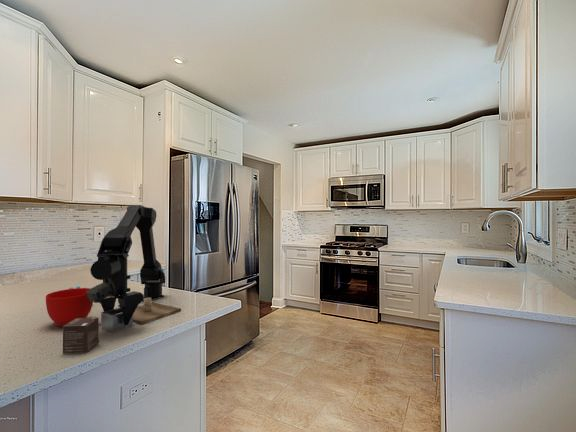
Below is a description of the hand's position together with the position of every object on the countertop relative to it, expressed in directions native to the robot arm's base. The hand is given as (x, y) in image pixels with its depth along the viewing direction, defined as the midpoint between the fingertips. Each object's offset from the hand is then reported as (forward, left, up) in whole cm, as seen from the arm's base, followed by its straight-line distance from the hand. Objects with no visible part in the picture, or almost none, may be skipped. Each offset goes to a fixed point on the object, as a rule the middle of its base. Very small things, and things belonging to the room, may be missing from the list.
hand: (117, 322), depth 97 cm
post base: (-13, -3, -1) cm, 13 cm away
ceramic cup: (+4, -18, -2) cm, 19 cm away
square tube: (0, 0, -1) cm, 1 cm away
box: (+14, +7, -2) cm, 16 cm away
